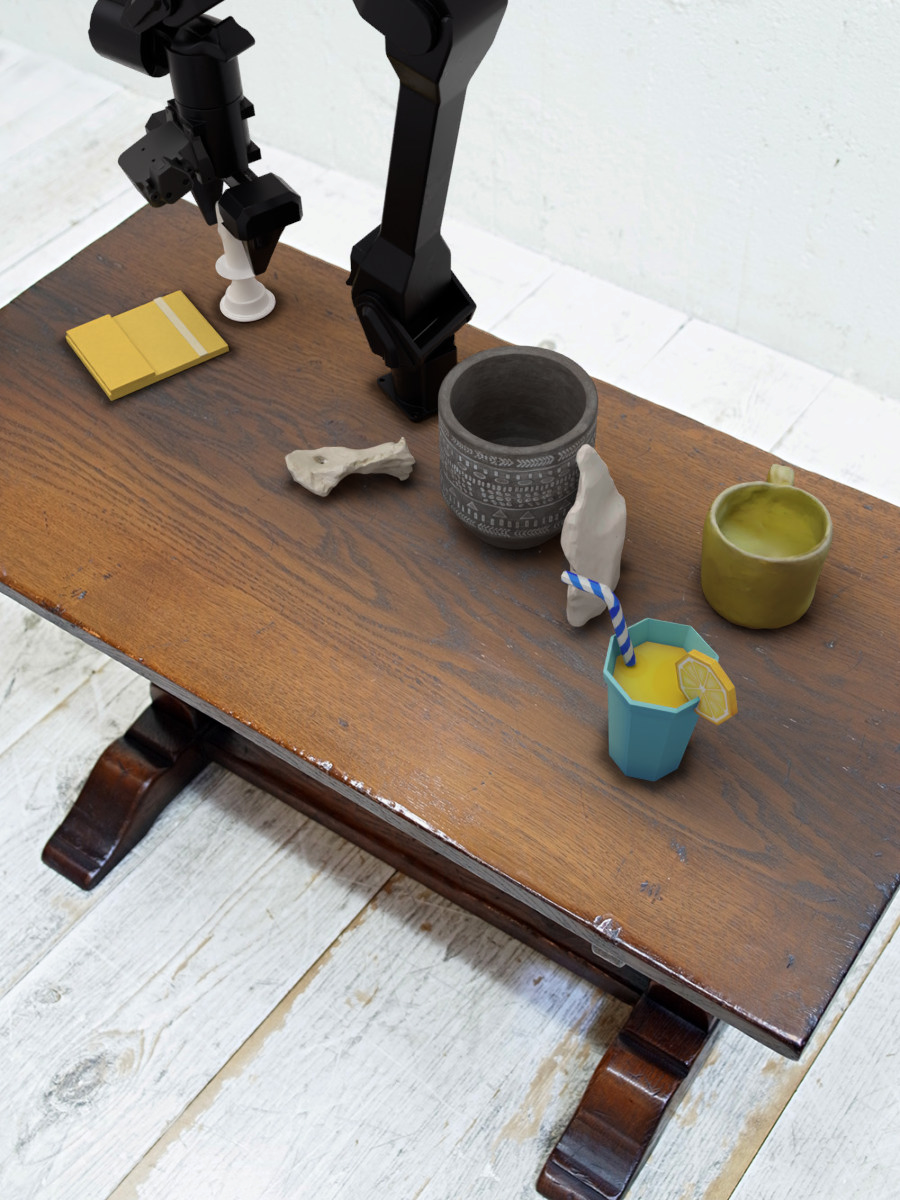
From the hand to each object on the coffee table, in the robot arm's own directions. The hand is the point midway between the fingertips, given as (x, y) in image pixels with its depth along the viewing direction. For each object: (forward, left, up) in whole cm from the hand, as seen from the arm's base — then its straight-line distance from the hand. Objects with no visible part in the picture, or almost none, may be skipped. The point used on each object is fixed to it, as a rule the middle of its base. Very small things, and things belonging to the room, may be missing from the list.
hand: (235, 248), depth 119 cm
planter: (-37, -5, -6) cm, 38 cm away
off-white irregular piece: (-26, +3, -7) cm, 27 cm away
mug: (-53, -18, -7) cm, 57 cm away
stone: (-48, -7, -7) cm, 49 cm away
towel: (0, +10, -6) cm, 12 cm away
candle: (0, 0, -7) cm, 7 cm away
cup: (-60, 0, -7) cm, 60 cm away
